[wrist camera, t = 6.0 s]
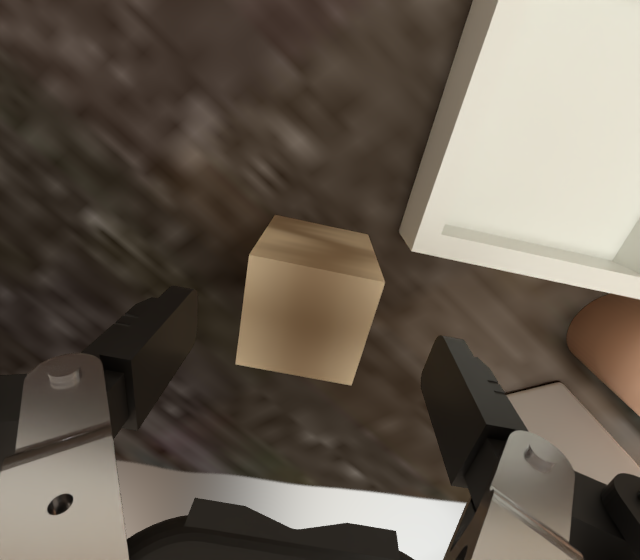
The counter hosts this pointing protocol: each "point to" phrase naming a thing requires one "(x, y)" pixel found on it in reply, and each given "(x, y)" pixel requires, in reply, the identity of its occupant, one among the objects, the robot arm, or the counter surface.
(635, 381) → the peach rounded capsule
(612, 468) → the medicine bottle
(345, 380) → the maple block
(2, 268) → the counter surface
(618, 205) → the white tray
